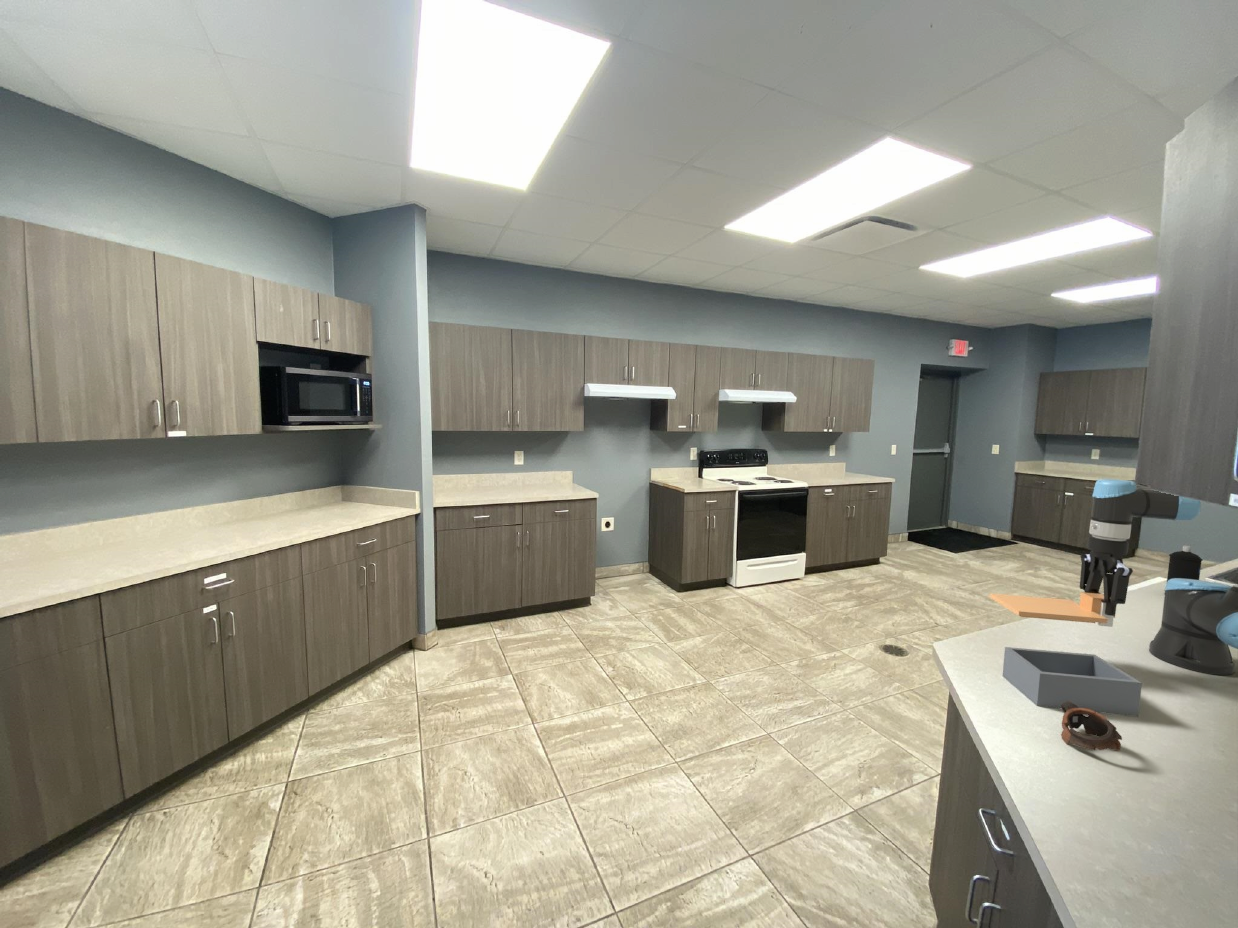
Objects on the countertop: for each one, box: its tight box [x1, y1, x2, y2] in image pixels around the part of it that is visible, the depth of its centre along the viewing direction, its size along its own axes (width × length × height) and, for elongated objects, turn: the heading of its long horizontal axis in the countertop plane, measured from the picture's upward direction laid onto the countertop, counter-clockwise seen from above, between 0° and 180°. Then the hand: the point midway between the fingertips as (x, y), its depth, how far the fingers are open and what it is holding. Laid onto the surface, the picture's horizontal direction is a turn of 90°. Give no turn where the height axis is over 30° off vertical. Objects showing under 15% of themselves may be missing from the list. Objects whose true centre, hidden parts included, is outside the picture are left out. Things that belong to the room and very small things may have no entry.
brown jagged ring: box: [1060, 701, 1123, 751], centre depth 97 cm, size 12×10×8 cm
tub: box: [1002, 646, 1143, 717], centre depth 113 cm, size 20×13×8 cm, turn 79°
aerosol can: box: [1163, 545, 1203, 595], centre depth 178 cm, size 8×8×20 cm
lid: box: [989, 591, 1118, 624], centre depth 127 cm, size 25×13×6 cm, turn 79°
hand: (1097, 621), depth 126 cm, fingers closed on lid, 4 cm apart
